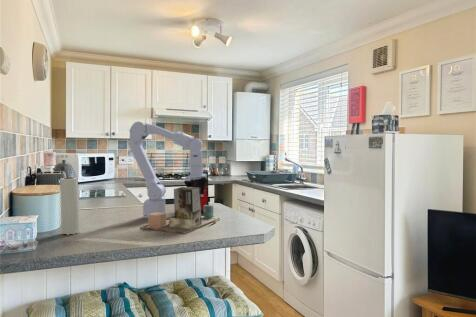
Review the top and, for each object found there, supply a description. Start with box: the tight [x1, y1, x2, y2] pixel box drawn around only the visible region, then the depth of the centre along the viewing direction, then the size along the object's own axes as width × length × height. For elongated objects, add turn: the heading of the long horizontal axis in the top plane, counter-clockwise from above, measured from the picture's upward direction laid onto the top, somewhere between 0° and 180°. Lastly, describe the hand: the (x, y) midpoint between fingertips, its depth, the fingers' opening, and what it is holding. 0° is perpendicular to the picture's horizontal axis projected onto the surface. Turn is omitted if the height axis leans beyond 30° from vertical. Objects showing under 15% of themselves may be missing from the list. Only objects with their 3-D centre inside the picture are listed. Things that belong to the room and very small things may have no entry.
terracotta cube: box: [147, 212, 167, 228], centre depth 136 cm, size 5×5×5 cm
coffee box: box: [173, 186, 203, 227], centre depth 137 cm, size 9×6×16 cm
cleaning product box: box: [188, 169, 210, 215], centre depth 172 cm, size 16×9×20 cm, turn 6°
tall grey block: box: [59, 177, 80, 236], centre depth 131 cm, size 7×6×21 cm
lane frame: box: [139, 215, 217, 235], centre depth 139 cm, size 21×22×6 cm
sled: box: [168, 204, 221, 230], centre depth 143 cm, size 12×21×6 cm, turn 154°
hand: (196, 195), depth 154 cm, fingers open, 7 cm apart
